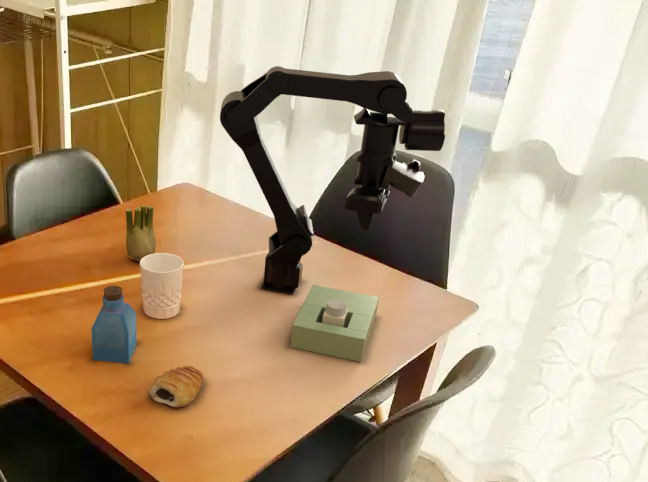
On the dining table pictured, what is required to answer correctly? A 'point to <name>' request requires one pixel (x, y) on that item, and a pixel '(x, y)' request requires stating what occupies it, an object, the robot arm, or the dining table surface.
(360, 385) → the dining table surface
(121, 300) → the perfume bottle
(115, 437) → the dining table surface
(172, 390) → the pastry
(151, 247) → the fennel bulb
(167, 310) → the white cup
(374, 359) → the dining table surface
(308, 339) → the stand
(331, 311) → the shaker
